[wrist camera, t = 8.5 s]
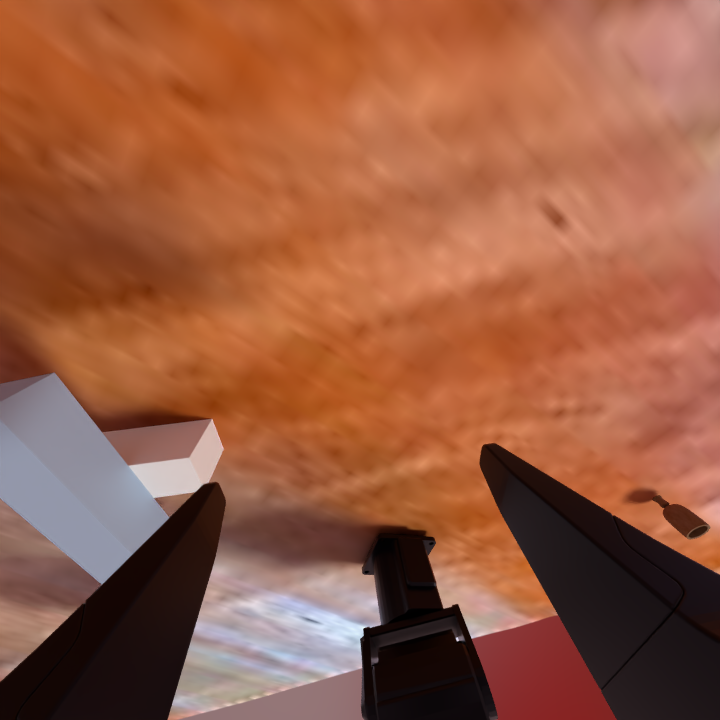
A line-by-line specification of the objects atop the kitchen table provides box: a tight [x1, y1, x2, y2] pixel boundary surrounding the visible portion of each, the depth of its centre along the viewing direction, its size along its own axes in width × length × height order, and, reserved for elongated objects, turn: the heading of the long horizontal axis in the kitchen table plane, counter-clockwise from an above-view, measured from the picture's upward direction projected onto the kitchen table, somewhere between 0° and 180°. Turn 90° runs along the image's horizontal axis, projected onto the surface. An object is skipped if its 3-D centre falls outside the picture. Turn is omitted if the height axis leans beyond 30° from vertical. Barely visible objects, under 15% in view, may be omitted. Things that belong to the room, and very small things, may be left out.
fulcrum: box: [102, 419, 224, 498], centre depth 19 cm, size 11×12×5 cm
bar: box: [0, 373, 169, 584], centre depth 16 cm, size 16×3×3 cm, turn 10°
